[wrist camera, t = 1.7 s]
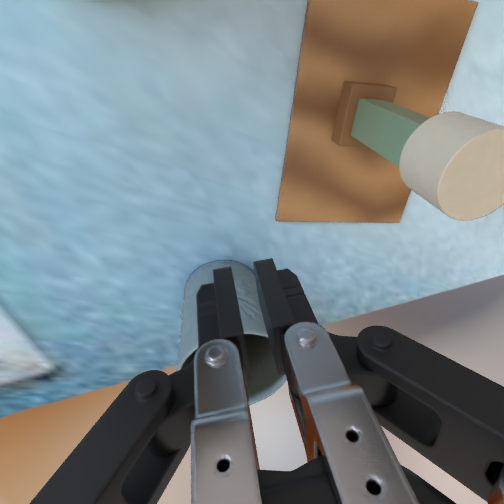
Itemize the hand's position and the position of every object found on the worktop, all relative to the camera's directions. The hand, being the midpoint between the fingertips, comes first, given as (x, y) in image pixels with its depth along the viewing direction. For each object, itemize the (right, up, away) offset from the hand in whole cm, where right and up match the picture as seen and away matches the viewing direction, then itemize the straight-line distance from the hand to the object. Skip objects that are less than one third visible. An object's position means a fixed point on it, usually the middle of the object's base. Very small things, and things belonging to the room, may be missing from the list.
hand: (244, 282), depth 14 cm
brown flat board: (+11, +13, +19) cm, 25 cm away
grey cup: (-3, -3, +27) cm, 27 cm away
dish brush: (+10, +14, +18) cm, 24 cm away
